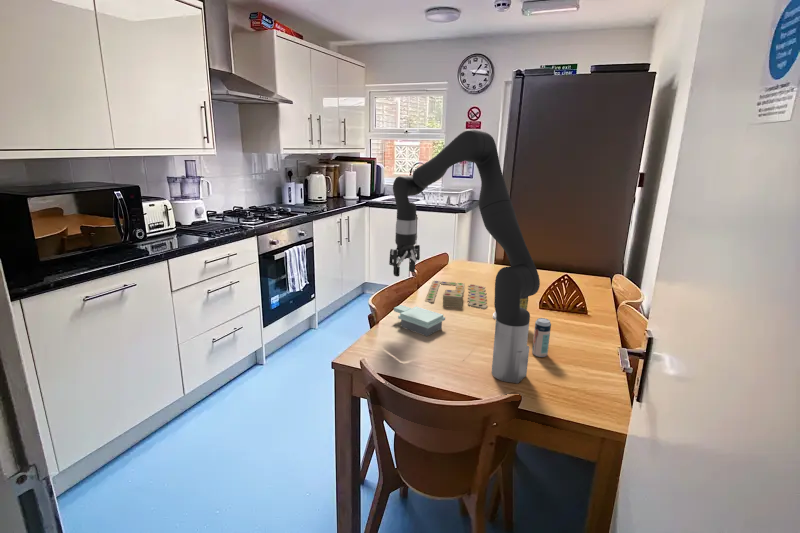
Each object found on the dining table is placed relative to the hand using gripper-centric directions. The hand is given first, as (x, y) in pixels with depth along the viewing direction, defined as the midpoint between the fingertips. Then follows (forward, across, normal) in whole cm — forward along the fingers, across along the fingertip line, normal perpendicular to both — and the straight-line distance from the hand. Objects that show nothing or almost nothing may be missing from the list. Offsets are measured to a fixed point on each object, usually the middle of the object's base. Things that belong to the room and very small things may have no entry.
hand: (404, 273), depth 156 cm
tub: (+19, -1, -11) cm, 22 cm away
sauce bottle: (+18, +27, -34) cm, 47 cm away
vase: (+19, +30, -26) cm, 44 cm away
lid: (+15, -2, -8) cm, 17 cm away
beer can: (+18, +10, -51) cm, 55 cm away
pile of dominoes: (+20, +41, +3) cm, 46 cm away
